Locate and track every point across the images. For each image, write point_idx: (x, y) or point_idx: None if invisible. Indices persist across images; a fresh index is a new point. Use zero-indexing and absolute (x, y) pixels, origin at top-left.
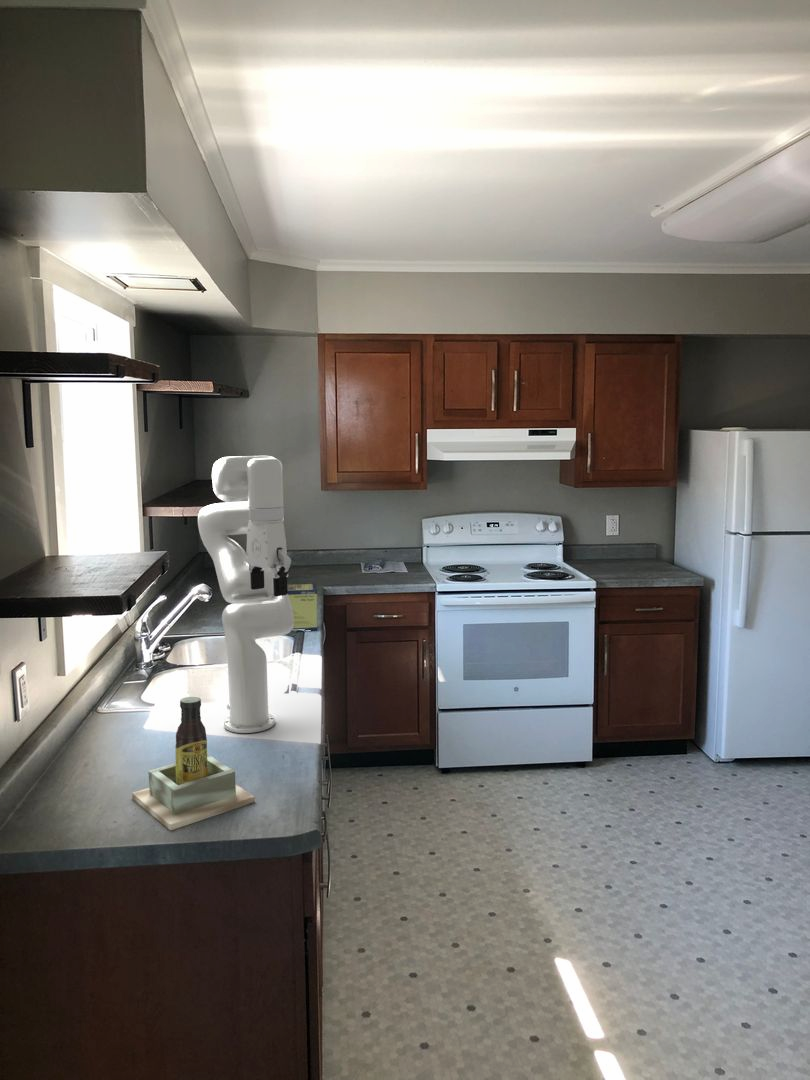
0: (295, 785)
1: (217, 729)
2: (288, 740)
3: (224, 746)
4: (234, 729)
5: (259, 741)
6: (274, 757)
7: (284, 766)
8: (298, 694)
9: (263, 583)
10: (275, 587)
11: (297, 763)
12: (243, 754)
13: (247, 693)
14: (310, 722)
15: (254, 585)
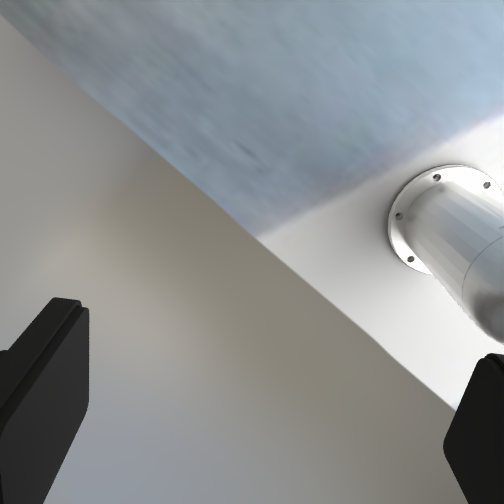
0: (107, 65)
1: (489, 156)
2: (306, 215)
3: (398, 100)
4: (439, 168)
5: (353, 172)
6: (258, 135)
7: (204, 117)
8: None
9: (461, 475)
10: (14, 355)
11: (196, 146)
12: (326, 100)
13: (452, 222)
14: (342, 305)
15: (492, 392)
